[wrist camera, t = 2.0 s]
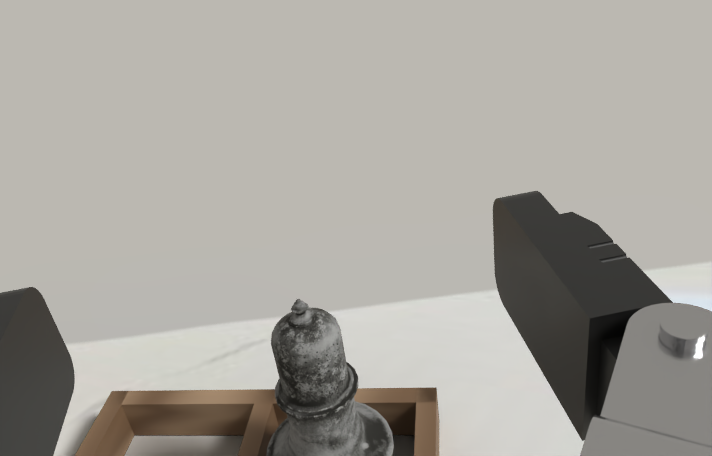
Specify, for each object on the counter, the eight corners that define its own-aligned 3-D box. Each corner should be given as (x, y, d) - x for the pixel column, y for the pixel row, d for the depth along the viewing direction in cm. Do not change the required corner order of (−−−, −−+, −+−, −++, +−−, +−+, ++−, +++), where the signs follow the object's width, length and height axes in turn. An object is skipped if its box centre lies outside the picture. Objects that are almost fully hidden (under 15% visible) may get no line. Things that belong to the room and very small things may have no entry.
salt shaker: (256, 497, 32) (196, 305, 26) (347, 429, 35) (312, 242, 29) (330, 580, 28) (279, 375, 22) (426, 495, 31) (404, 293, 25)
